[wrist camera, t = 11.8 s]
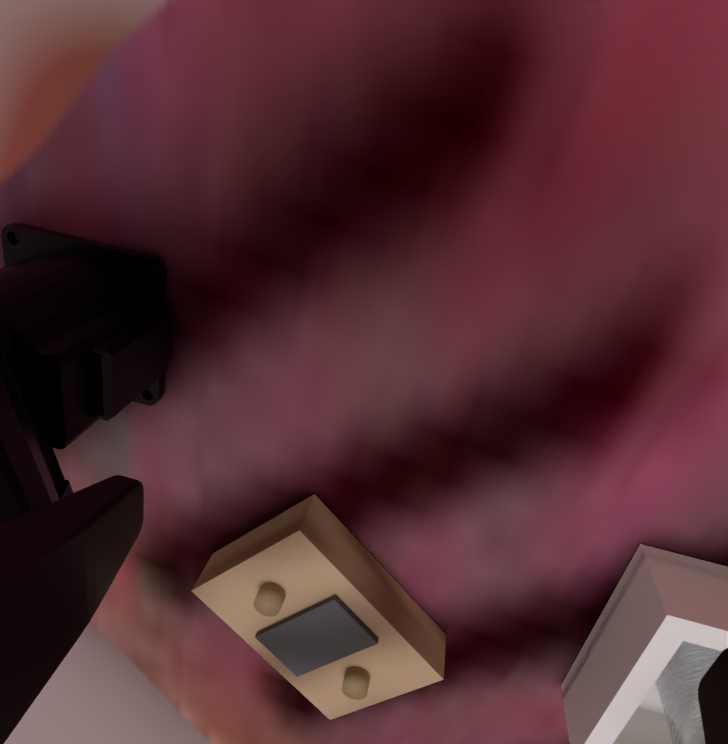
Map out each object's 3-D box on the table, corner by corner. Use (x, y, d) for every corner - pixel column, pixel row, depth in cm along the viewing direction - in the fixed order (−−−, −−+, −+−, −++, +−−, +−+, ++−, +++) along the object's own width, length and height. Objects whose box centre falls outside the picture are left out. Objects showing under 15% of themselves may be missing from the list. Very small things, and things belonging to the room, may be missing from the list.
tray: (560, 685, 27) (572, 762, 24) (640, 543, 23) (667, 614, 20) (759, 742, 27) (798, 828, 23) (880, 606, 22) (949, 691, 19)
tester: (213, 553, 28) (183, 604, 25) (314, 493, 25) (293, 543, 22) (340, 676, 30) (326, 735, 27) (445, 634, 27) (442, 696, 24)
